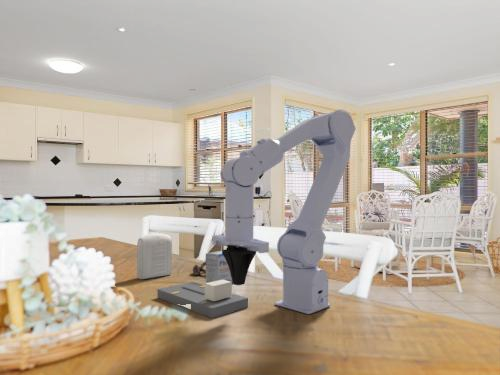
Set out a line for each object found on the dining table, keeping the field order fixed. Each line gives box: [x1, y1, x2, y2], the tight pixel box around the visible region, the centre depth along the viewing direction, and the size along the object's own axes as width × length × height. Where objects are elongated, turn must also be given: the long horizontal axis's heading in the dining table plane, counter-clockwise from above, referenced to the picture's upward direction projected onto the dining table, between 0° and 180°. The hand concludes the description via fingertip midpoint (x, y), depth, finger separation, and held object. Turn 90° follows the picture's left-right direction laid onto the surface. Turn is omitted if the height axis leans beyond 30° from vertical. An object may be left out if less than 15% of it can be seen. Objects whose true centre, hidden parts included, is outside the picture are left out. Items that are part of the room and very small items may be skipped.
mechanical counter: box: [192, 260, 206, 276], centre depth 118 cm, size 7×13×10 cm
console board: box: [156, 281, 249, 319], centre depth 89 cm, size 20×10×2 cm, turn 45°
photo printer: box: [136, 232, 173, 280], centre depth 114 cm, size 10×4×12 cm, turn 134°
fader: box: [204, 279, 233, 301], centre depth 85 cm, size 3×5×3 cm, turn 135°
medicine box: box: [205, 250, 234, 285], centre depth 106 cm, size 8×4×9 cm, turn 143°
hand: (238, 284), depth 80 cm, fingers closed
